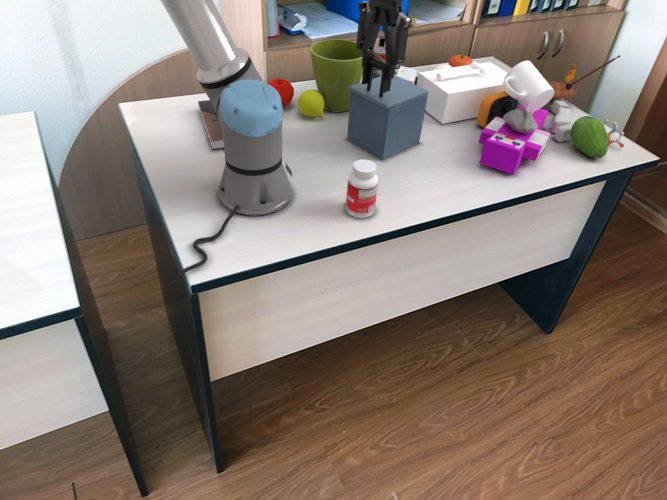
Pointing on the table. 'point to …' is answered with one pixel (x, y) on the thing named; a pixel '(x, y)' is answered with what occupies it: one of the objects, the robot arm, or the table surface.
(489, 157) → the toy
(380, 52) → the beverage can
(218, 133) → the picture frame
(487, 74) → the tissue box
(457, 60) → the pumpkin
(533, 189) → the table surface
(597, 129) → the avocado
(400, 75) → the ink box
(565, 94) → the incense holder
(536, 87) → the mug
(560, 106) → the grey segmented bar
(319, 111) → the yellow-green teardrop shape
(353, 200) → the pill bottle
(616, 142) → the molecular model
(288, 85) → the apple
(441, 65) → the geometric ball
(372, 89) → the lid
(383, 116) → the blue-grey hollow box
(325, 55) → the flower pot
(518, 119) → the grey rock
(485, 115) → the multimeter
